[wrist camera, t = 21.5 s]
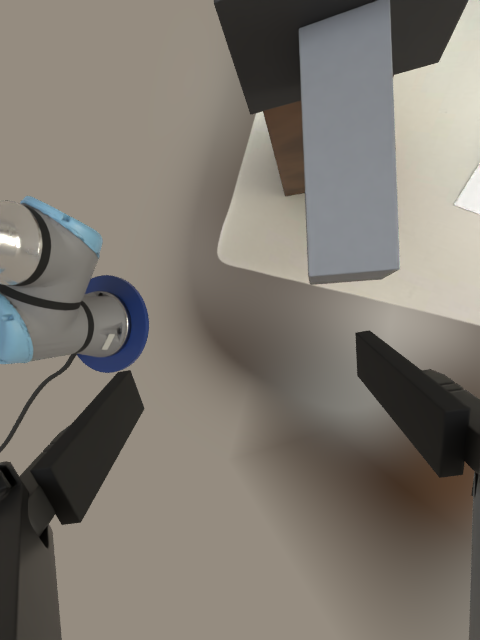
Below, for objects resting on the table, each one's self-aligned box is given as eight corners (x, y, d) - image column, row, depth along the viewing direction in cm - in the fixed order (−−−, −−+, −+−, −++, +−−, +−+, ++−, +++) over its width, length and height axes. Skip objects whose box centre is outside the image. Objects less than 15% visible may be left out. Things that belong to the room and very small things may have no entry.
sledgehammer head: (257, 290, 16) (225, 277, 10) (244, -30, 16) (203, -224, 10) (446, 276, 13) (546, 247, 7) (432, -114, 13) (522, -450, 7)
